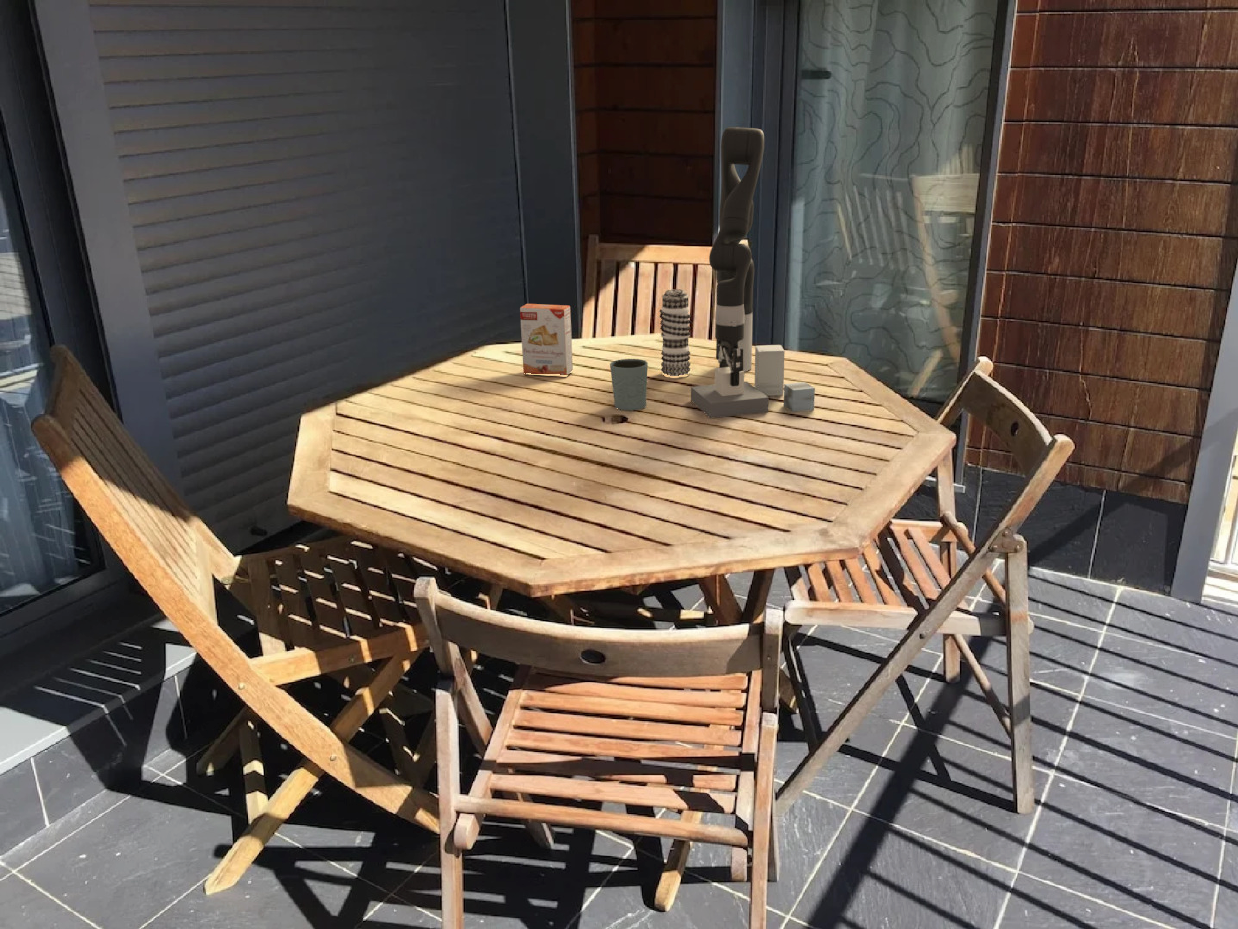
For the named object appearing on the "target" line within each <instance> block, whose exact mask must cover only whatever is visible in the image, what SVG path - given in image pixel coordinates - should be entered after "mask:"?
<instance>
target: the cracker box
mask: <svg viewBox="0 0 1238 929" xmlns="http://www.w3.org/2000/svg"><path fill="white" fill-rule="evenodd" d="M519 310H520V311H519V312H520V313H519V316H520V332H521V333H520V335H521V352H522V354H521V355H522V368H523V374H524V373H525V374H526V373H531V374H560V375H567V374H569V373H570V372H571V371H572V370H573V369H574V368H573V366H574V365H573V344H572V342H573V341H572V321H571V320H572V319H571V318H572V317H571V316H572V315H571V306H570V305H566V304H565V305H562V304H561V305H560V304H543V303H542V304H540V303H539V304H537V303H526V304H524V305H522V306H520V308H519Z"/></svg>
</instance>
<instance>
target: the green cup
mask: <svg viewBox="0 0 1238 929" xmlns="http://www.w3.org/2000/svg"><path fill="white" fill-rule="evenodd" d="M648 365H649V363H648V361H646V360H644V359H641V358H623V359H616V360H613V361H611V362H610V363H609V367H610V375H611V386H612V393H613V394H612V395H613V402H614V408H615V407H616V408H618V409H622V410H628V411H627V412H634V411H633V410H637V411H639V410H638V409H641V410H643V409H642V408H644V407H645V406H646V407H647V394H648V392H647V391H648V388H647V386H648V367H649V366H648ZM646 407H645V408H646ZM616 408H615V409H616ZM645 408H644V409H645ZM618 409H617V410H618ZM622 410H621V411H622ZM629 410H630V411H629Z"/></svg>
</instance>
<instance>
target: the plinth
mask: <svg viewBox="0 0 1238 929" xmlns="http://www.w3.org/2000/svg"><path fill="white" fill-rule="evenodd" d="M769 398H770V397H769V396H766V395H765V394H763V393H762V392H761V391H759V390H758V389H756V388H755V385H753V384H751V383H750V382H748V381H744V394H738V395H728V396H722V395H720V394H719V393H718V392H717V391H715V384H709V385H705V384H704V385H695V386H690V401H691V400H692V401H693V402H694V403H693V402H692V401H691V402H692V403H693V404H694V405H695V406H696V405H697V406H698V407H699V408H700V409H699V408H698V407H697V406H696V407H697V408H698V409H699V410H701V411H702V412H703V411H704V412H705V413H704V412H703V413H704V415H706V414H707V415H706V416H707V417H708V416H709V418H710V419H712V418H711V417H716V418H725V417H733V416H742V415H743V416H744V415H750V414H752V415H753V414H754V415H755V414H761V413H768V412H769V404H770V403H769Z"/></svg>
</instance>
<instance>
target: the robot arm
mask: <svg viewBox="0 0 1238 929" xmlns="http://www.w3.org/2000/svg"><path fill="white" fill-rule="evenodd" d="M764 149H765V135H764V132H763V130H762V129H759V128H756V127H755V128H753V127H750V128H749V127H740V126H739V127H736V126H734V127H733V126H729V127H727V128H725V129H724V130H723V132H722V135H721V140H720V164H721V170H720V171H721V186H720V188H721V189H720V190H721V191H720V203H719V230H718V233H717V235H716V236H717V237H716V238H715V240H714V243H713V245H712V247H711V249H710V251H709V258H708V260H709V264H710V267H711V269H712V270H714V271H716V272H715V273H716V274H715V275H716V276H715V277H716V292H715V293H716V297H715V300H716V303H715V304H716V305H715V311H714V312H715V313H714V314H715V317H714V318H715V319H714V320H715V322H714V324H715V326H714V327H715V328H714V329H715V330H714V339H715V340H716V342H715V343H716V345H715V348H716V349H715V352H716V354H715V358H716V361H717V362H718V364H719V365H718V366H719V367H718V368H723V367H730V371H731V372H730V385H731V386H738V385H739V372H740V371H744V373H745V372H749V371H751V370H752V364H753V363H752V357H753V356H752V355H753V353H752V352H753V314H754V313H753V310H754V309H753V304H754V302H753V298H754V297H753V296H754V282H755V280H754V279H755V263H754V262H755V261H754V260H753V259H752V251H751V248H750V246H749V245H748V244H746V243H741V241H742V240H743V239H744V238H745V237H746V236H747V234H748V233H749V232H750V230H751V228H752V225H753V222H754V210H755V209H754V201H753V199H754V198H753V197H754V195H755V190H756V187H757V184H758V183H757V182H758V178H759V175H760V170H761V166H762V162H763V156H764ZM735 165H740V166H742V165H743V166H745V165H746V166H747V167H748V168H747V169H746V171H745V173H744V176H743V177H742V179H740V177H739V175H738V173H737V170H736V167H735ZM750 369H751V370H750ZM748 370H749V371H748Z"/></svg>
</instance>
